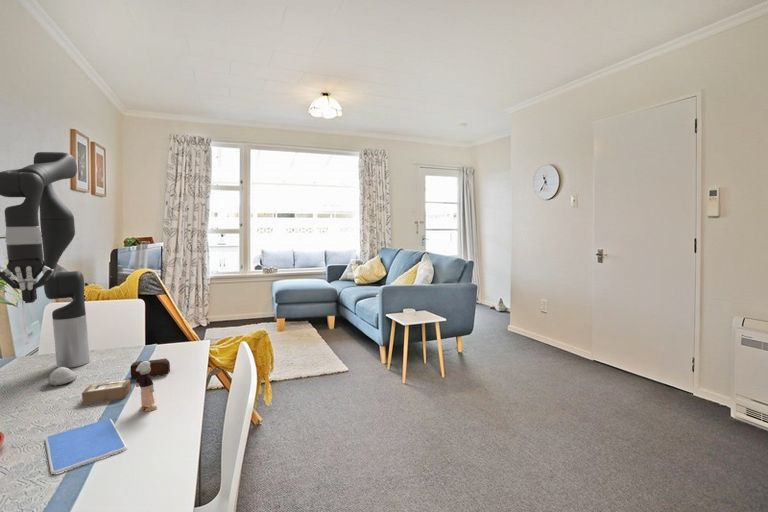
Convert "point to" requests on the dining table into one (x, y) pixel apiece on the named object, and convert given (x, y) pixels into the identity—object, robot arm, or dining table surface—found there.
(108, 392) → the marked cardboard box
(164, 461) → the dining table surface
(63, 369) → the white seashell
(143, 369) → the grandmother figurine
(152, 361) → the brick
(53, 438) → the tablet computer
